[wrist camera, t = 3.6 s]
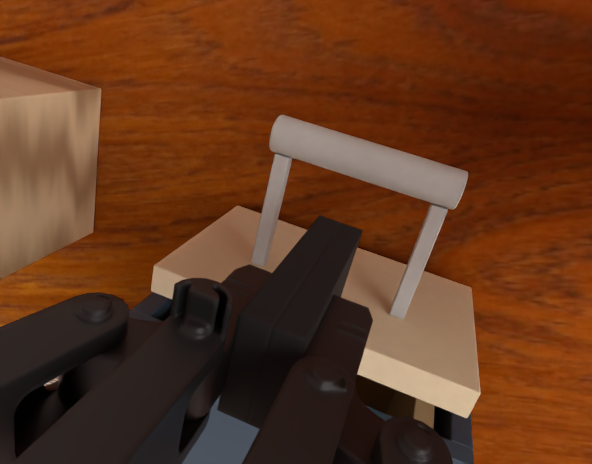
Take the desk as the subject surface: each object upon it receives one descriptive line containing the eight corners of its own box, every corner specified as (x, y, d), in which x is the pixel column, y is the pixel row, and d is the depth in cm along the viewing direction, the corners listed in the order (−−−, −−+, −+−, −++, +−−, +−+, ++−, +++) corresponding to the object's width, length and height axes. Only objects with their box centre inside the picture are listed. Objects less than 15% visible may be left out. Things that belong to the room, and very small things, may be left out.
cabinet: (227, 232, 26) (119, 318, 18) (466, 319, 24) (474, 467, 15) (189, 426, 33) (97, 558, 24) (374, 511, 30) (344, 690, 22)
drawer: (260, 85, 22) (172, 101, 15) (528, 165, 20) (571, 226, 13) (198, 404, 31) (123, 508, 24) (379, 485, 28) (356, 626, 21)
